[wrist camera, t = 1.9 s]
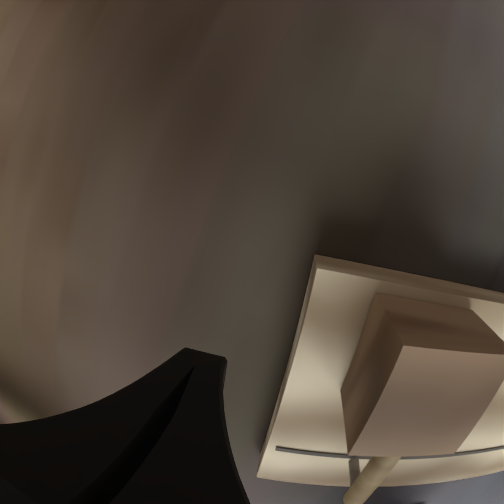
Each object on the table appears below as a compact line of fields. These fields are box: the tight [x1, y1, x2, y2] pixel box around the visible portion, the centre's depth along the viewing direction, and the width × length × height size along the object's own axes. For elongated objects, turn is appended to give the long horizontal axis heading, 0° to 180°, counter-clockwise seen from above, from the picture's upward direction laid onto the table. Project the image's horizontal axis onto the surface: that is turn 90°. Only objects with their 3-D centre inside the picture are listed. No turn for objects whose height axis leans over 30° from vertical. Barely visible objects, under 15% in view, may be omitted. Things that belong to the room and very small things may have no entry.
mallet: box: [340, 293, 504, 504], centre depth 11 cm, size 10×5×4 cm, turn 171°
